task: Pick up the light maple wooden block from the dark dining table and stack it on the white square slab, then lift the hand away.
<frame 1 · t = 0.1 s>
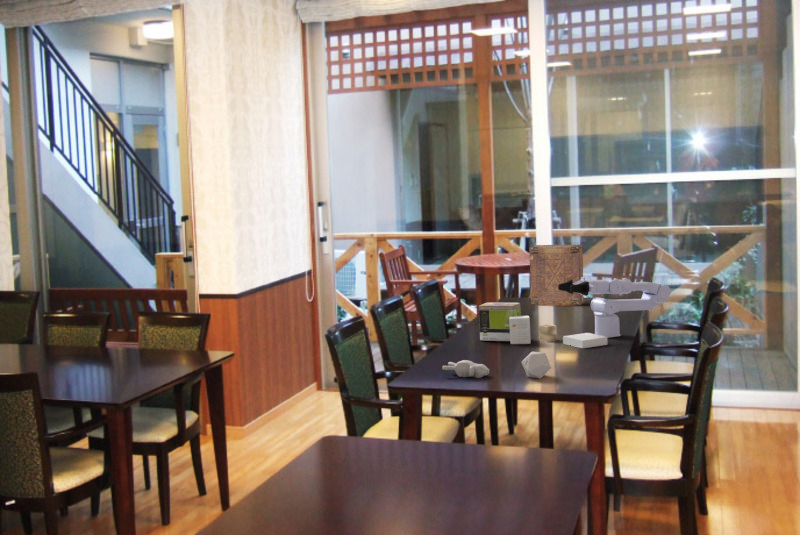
hand: (564, 287, 348), 22 cm above the table, tool horizontal, fingers open, 7 cm apart
white square slab: (585, 344, 344), on the table
book: (557, 304, 451), on the table
die: (536, 377, 293), on the table
maple block: (547, 340, 356), on the table
tea box: (500, 339, 361), on the table, touching small box
bunny figurine: (466, 376, 299), on the table
small box: (520, 343, 353), on the table, touching tea box
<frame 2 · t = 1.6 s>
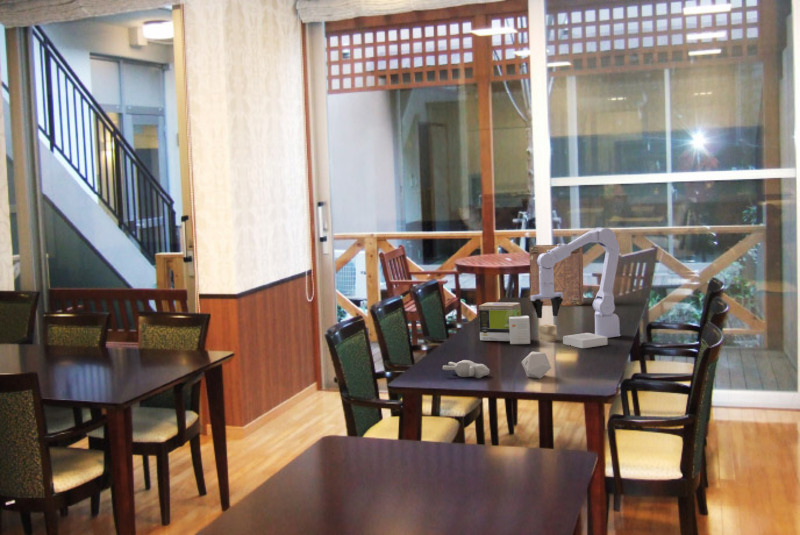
hand: (547, 316, 355), 9 cm above the table, tool pointing down, fingers open, 7 cm apart
nothing on the table moved.
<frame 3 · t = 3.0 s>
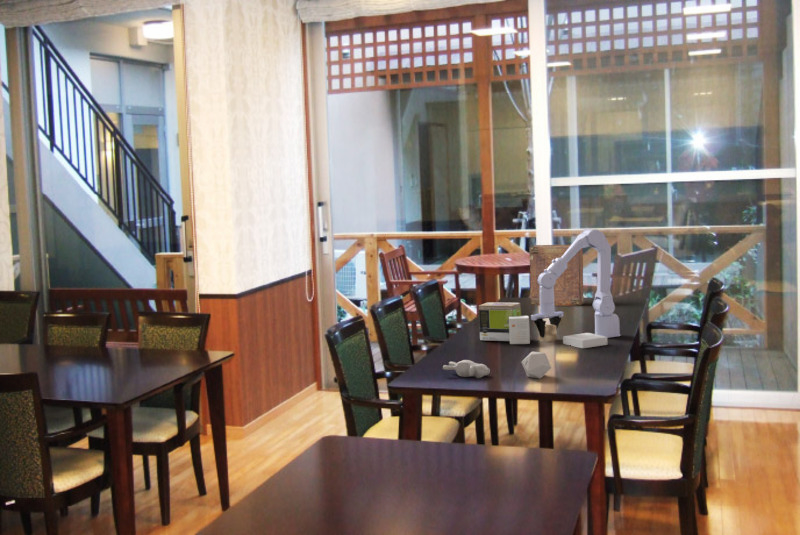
hand: (547, 336, 356), 2 cm above the table, tool pointing down, fingers closed on maple block, 5 cm apart
maple block: (547, 340, 356), on the table, touching gripper
tea box: (500, 339, 362), on the table, touching small box
everything else where it was.
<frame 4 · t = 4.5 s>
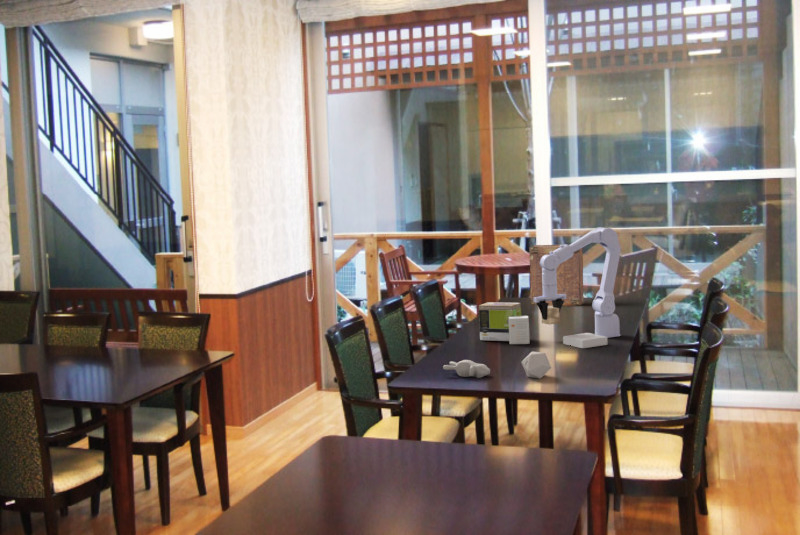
hand: (550, 318, 354), 9 cm above the table, tool pointing down, fingers closed on maple block, 5 cm apart
maple block: (550, 323, 354), point 7 cm above the table, touching gripper
tea box: (501, 339, 362), on the table, touching small box
everything else where it was.
when the fingers open (6 cm above the table, at t = 6.5 s): maple block stays where it is, resting on white square slab.
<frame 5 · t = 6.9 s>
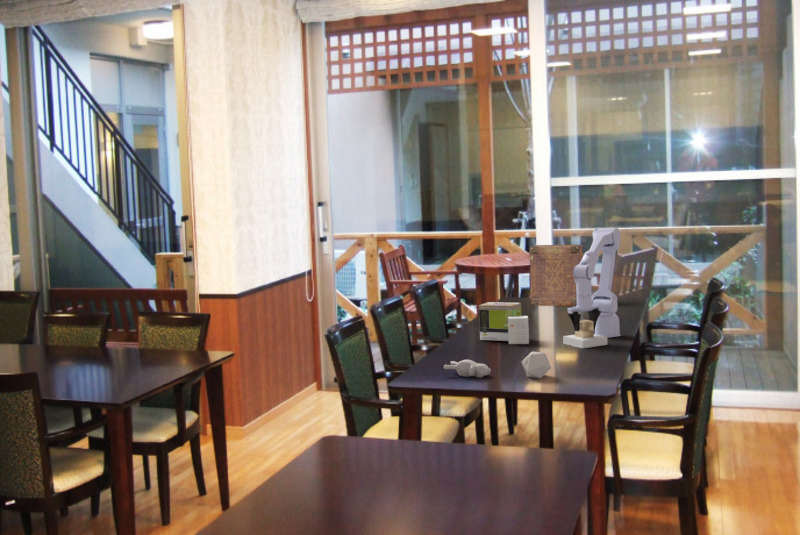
hand: (584, 329, 344), 6 cm above the table, tool pointing down, fingers open, 7 cm apart
maple block: (584, 336, 344), point 3 cm above the table, touching white square slab
everything else where it was.
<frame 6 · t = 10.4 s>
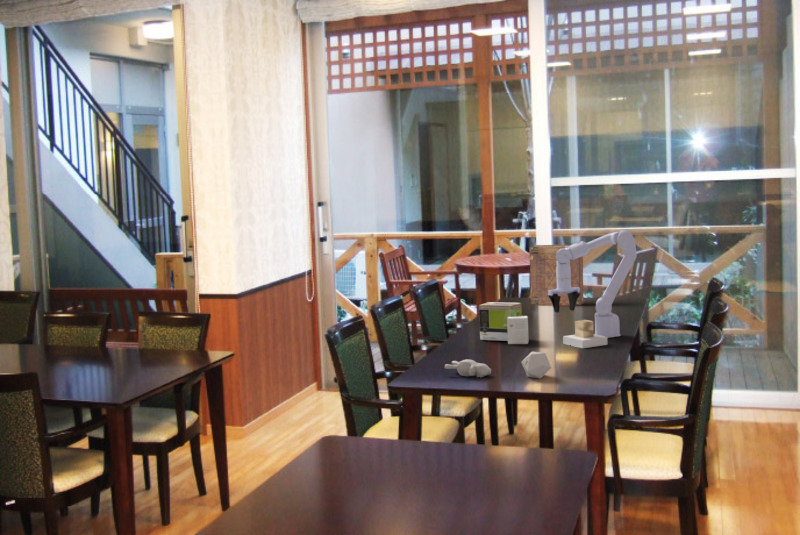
hand: (564, 311, 361), 10 cm above the table, tool pointing down, fingers open, 7 cm apart
at the end: maple block inside the target area on the white square slab (0.4 cm from its centre), point 3.0 cm above the white square slab's base; maple block tilted 0°; the gripper is holding nothing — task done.
